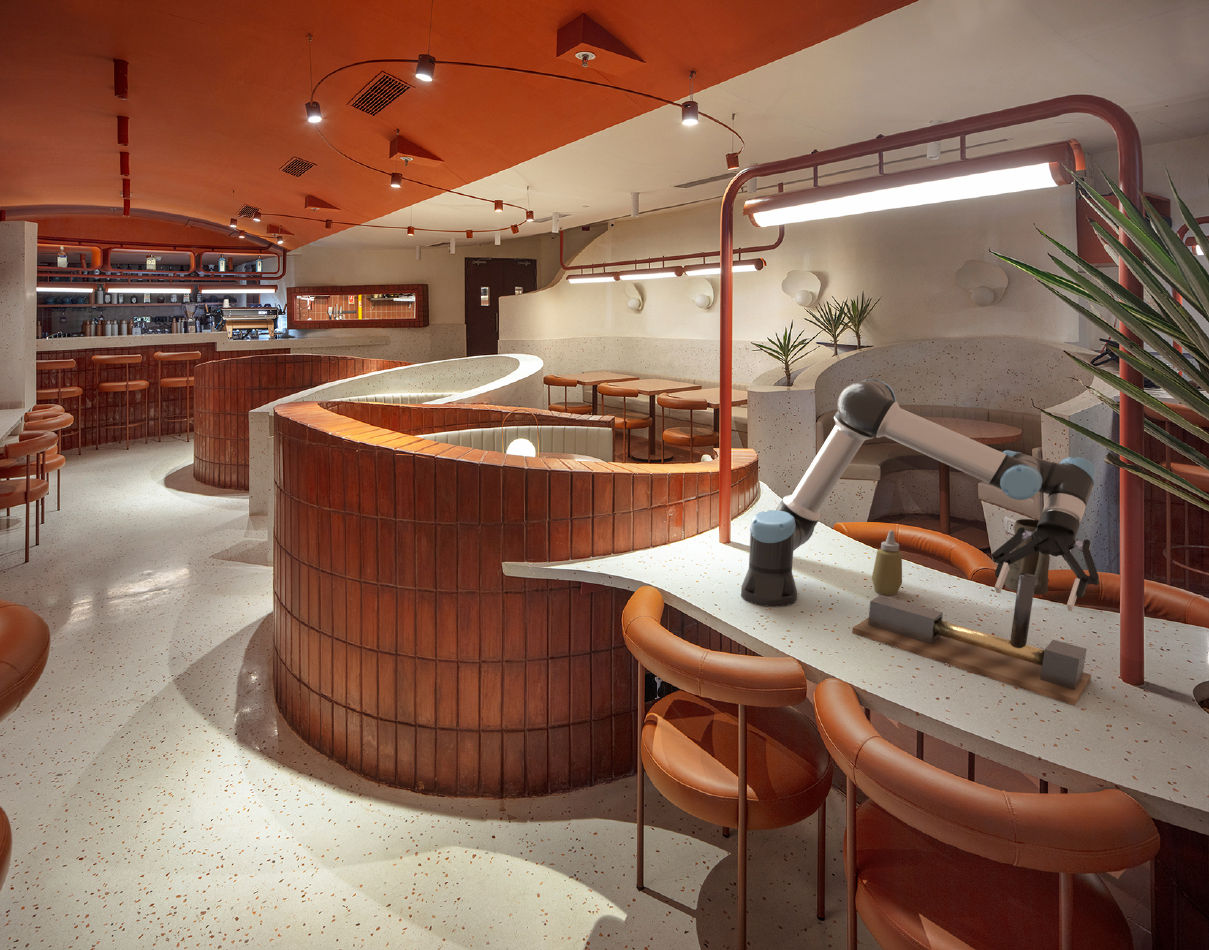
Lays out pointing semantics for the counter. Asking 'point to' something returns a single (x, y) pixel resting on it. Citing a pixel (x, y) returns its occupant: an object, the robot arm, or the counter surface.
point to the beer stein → (1029, 562)
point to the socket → (1063, 664)
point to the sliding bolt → (1018, 634)
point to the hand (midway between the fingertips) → (1032, 598)
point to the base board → (978, 662)
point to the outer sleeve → (904, 618)
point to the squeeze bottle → (888, 567)
